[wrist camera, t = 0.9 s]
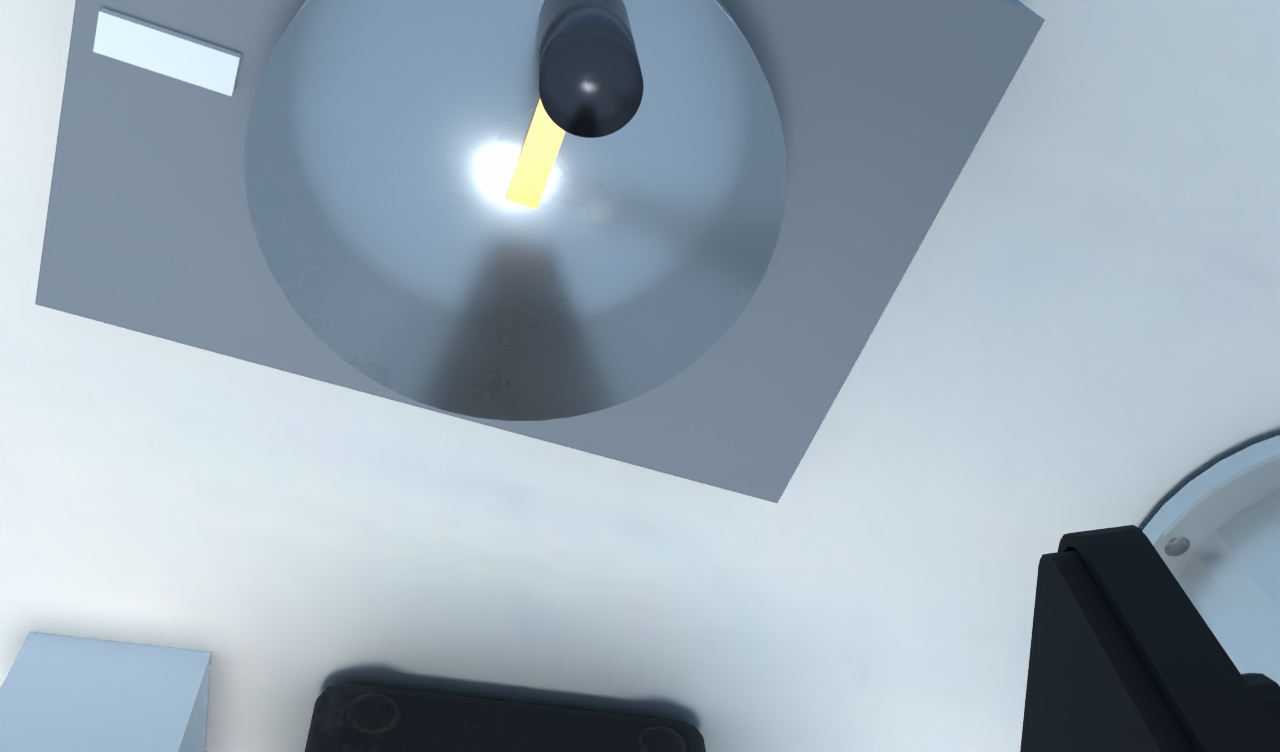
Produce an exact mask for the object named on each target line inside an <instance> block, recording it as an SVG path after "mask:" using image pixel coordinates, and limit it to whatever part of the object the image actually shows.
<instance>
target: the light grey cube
mask: <svg viewBox="0 0 1280 752" xmlns="http://www.w3.org/2000/svg"><path fill="white" fill-rule="evenodd" d="M210 663H211V652H207V651H198V650H189V649H180V648H171V647H162V646H153V645H144V644H134V643H125V642H116V641H107V640H98V639H89V638H80V637H71V636H62V635H53V634H44V633H35V632H30V634H29V635H28V637H27V639H26V641H25V643H24V645H23V647H22V649H21V651H20V653H19V655H18V656H17V658H16V660H15V662H14V664H13V666H12V668H11V670H10V672H9V674H8V676H7V678H6V679H5V681H4V683H3V685H2V687H1V689H0V752H205V743H206V727H207V711H208V695H209V679H210Z"/></svg>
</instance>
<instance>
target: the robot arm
mask: <svg viewBox="0 0 1280 752" xmlns="http://www.w3.org/2000/svg"><path fill="white" fill-rule="evenodd" d="M1020 752H1280V435H1278V436H1275V437H1272V438H1269V439H1267V440H1264V441H1261V442H1258V443H1255V444H1253V445H1251V446H1249V447H1247V448H1245V449H1243V450H1241V451H1239V452H1237V453H1235V454H1233V455H1231V456H1229V457H1227V458H1225V459H1223V460H1221V461H1219V462H1218V463H1216V464H1215V465H1213V466H1212V467H1210V468H1209V469H1207V470H1206V471H1204V472H1203V473H1201V474H1200V475H1198V476H1197V477H1196V478H1194V479H1193V480H1191V481H1190V482H1188V483H1187V484H1186V485H1185V486H1184V487H1183V488H1182V489H1181V490H1180V491H1178V492H1177V493H1176V494H1175V495H1174V496H1173V497H1172V498H1171V499H1170V500H1168V501H1167V502H1166V503H1165V504H1164V505H1163V506H1162V507H1161V508H1160V510H1159V511H1158V512H1157V513H1156V514H1155V516H1154V517H1153V518H1152V519H1151V520H1150V522H1149V523H1148V524H1147V525H1146V526H1145V528H1144V529H1143V530H1141V529H1140V528H1138V527H1136V526H1134V525H1129V526H1121V527H1114V528H1106V529H1098V530H1091V531H1083V532H1075V533H1068V534H1065V535H1063V537H1062V538H1061V540H1060V543H1059V548H1058V553H1050V554H1044V555H1042V557H1041V559H1040V562H1039V567H1038V578H1037V588H1036V598H1035V608H1034V618H1033V629H1032V639H1031V649H1030V659H1029V669H1028V680H1027V690H1026V700H1025V710H1024V720H1023V731H1022V741H1021V751H1020Z"/></svg>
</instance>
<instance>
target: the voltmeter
mask: <svg viewBox="0 0 1280 752" xmlns="http://www.w3.org/2000/svg"><path fill="white" fill-rule="evenodd" d="M305 752H706V750H705V744H704V738H703V736H702V735H701V734H700V732H699V731H698V730H697V729H696V728H695V727H694V726H692V725H690V724H689V723H687V722H682V721H674V720H665V719H656V718H648V717H639V716H630V715H621V714H613V713H604V712H595V711H587V710H578V709H569V708H561V707H552V706H543V705H534V704H526V703H517V702H508V701H500V700H491V699H482V698H474V697H465V696H456V695H447V694H439V693H430V692H421V691H413V690H404V689H395V688H387V687H378V686H369V685H361V684H352V683H342V684H338V685H335V686H332V687H329V688H327V689H326V690H325V691H324V692H323V693H322V694H321V695H320V696H319V697H318V698H317V700H316V702H315V706H314V711H313V716H312V720H311V725H310V730H309V734H308V739H307V744H306V748H305Z"/></svg>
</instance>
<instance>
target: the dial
mask: <svg viewBox="0 0 1280 752" xmlns="http://www.w3.org/2000/svg"><path fill="white" fill-rule="evenodd" d="M244 149H245V186H246V193H247V199H248V206H249V213H250V217H251V220H252V223H253V227H254V230H255V234H256V237H257V240H258V244H259V247H260V249H261V251H262V253H263V256H264V258H265V260H266V262H267V264H268V267H269V269H270V271H271V273H272V276H273V277H274V279H275V281H276V282H277V284H278V285H279V287H280V289H281V290H282V292H283V294H284V295H285V297H286V298H287V300H288V302H289V303H290V305H291V306H292V307H293V308H294V310H295V311H296V312H297V313H298V315H299V316H300V317H301V318H302V320H303V321H304V322H305V323H306V325H307V326H308V327H309V328H310V329H311V330H312V331H313V332H314V333H315V334H316V335H317V336H318V337H319V338H320V339H321V340H322V341H323V342H324V343H325V344H326V345H327V346H328V347H329V348H330V349H331V350H332V351H333V352H334V353H336V354H337V355H338V356H340V357H341V358H342V359H344V360H345V361H346V362H347V363H349V364H350V365H351V366H353V367H354V368H355V369H357V370H358V371H359V372H361V373H363V374H364V375H366V376H368V377H369V378H371V379H373V380H374V381H376V382H378V383H379V384H381V385H383V386H384V387H386V388H388V389H390V390H392V391H394V392H397V393H399V394H401V395H403V396H405V397H408V398H410V399H412V400H414V401H417V402H420V403H423V404H426V405H429V406H432V407H435V408H438V409H441V410H444V411H448V412H452V413H457V414H462V415H466V416H471V417H476V418H484V419H494V420H504V421H542V420H551V419H560V418H568V417H574V416H578V415H583V414H587V413H592V412H596V411H600V410H604V409H606V408H609V407H612V406H615V405H618V404H621V403H624V402H627V401H629V400H632V399H634V398H636V397H638V396H640V395H642V394H644V393H646V392H649V391H651V390H653V389H655V388H657V387H659V386H660V385H662V384H664V383H665V382H667V381H668V380H670V379H672V378H673V377H675V376H676V375H678V374H679V373H681V372H683V371H684V370H685V369H687V368H688V367H689V366H690V365H692V364H693V363H694V362H695V361H697V360H698V359H699V358H700V357H702V356H703V355H704V354H705V353H706V352H708V351H709V350H710V349H711V348H712V347H713V346H714V345H715V344H716V343H717V342H718V340H719V339H720V338H721V337H722V336H723V335H724V334H725V333H726V332H727V331H728V330H729V329H730V328H731V326H732V325H733V324H734V323H735V321H736V320H737V319H738V317H739V316H740V315H741V313H742V312H743V311H744V309H745V308H746V307H747V305H748V304H749V302H750V300H751V298H752V297H753V295H754V293H755V291H756V290H757V288H758V286H759V284H760V283H761V281H762V279H763V277H764V275H765V272H766V270H767V268H768V265H769V263H770V260H771V258H772V255H773V253H774V250H775V247H776V244H777V240H778V236H779V232H780V228H781V224H782V220H783V215H784V206H785V197H786V189H787V171H786V150H785V143H784V137H783V131H782V125H781V120H780V116H779V113H778V110H777V107H776V104H775V100H774V97H773V94H772V91H771V88H770V85H769V83H768V81H767V79H766V77H765V75H764V73H763V71H762V69H761V66H760V64H759V62H758V60H757V58H756V56H755V54H754V52H753V50H752V48H751V47H750V45H749V43H748V41H747V39H746V37H745V35H744V34H743V32H742V30H741V29H740V27H739V26H738V24H737V23H736V21H735V20H734V18H733V17H732V15H731V14H730V12H729V11H728V9H727V8H726V6H725V5H724V4H723V2H722V1H721V0H305V2H304V3H303V5H302V6H301V8H300V9H299V11H298V12H297V14H296V15H295V17H294V18H293V20H292V21H291V23H290V24H289V26H288V27H287V29H286V30H285V32H284V33H283V35H282V36H281V38H280V39H279V40H278V42H277V43H276V45H275V47H274V49H273V51H272V53H271V55H270V57H269V59H268V61H267V63H266V66H265V68H264V70H263V72H262V74H261V76H260V78H259V82H258V85H257V88H256V92H255V95H254V98H253V102H252V105H251V108H250V112H249V118H248V125H247V132H246V139H245V146H244Z"/></svg>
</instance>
